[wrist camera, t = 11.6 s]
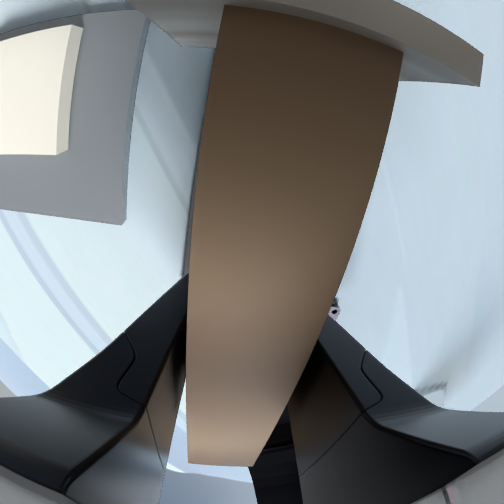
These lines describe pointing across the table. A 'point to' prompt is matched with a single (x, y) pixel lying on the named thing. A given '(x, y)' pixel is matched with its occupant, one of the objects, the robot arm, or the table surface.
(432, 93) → the table surface
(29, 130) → the tile
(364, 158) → the light brown wooden bar
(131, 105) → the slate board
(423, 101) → the table surface
